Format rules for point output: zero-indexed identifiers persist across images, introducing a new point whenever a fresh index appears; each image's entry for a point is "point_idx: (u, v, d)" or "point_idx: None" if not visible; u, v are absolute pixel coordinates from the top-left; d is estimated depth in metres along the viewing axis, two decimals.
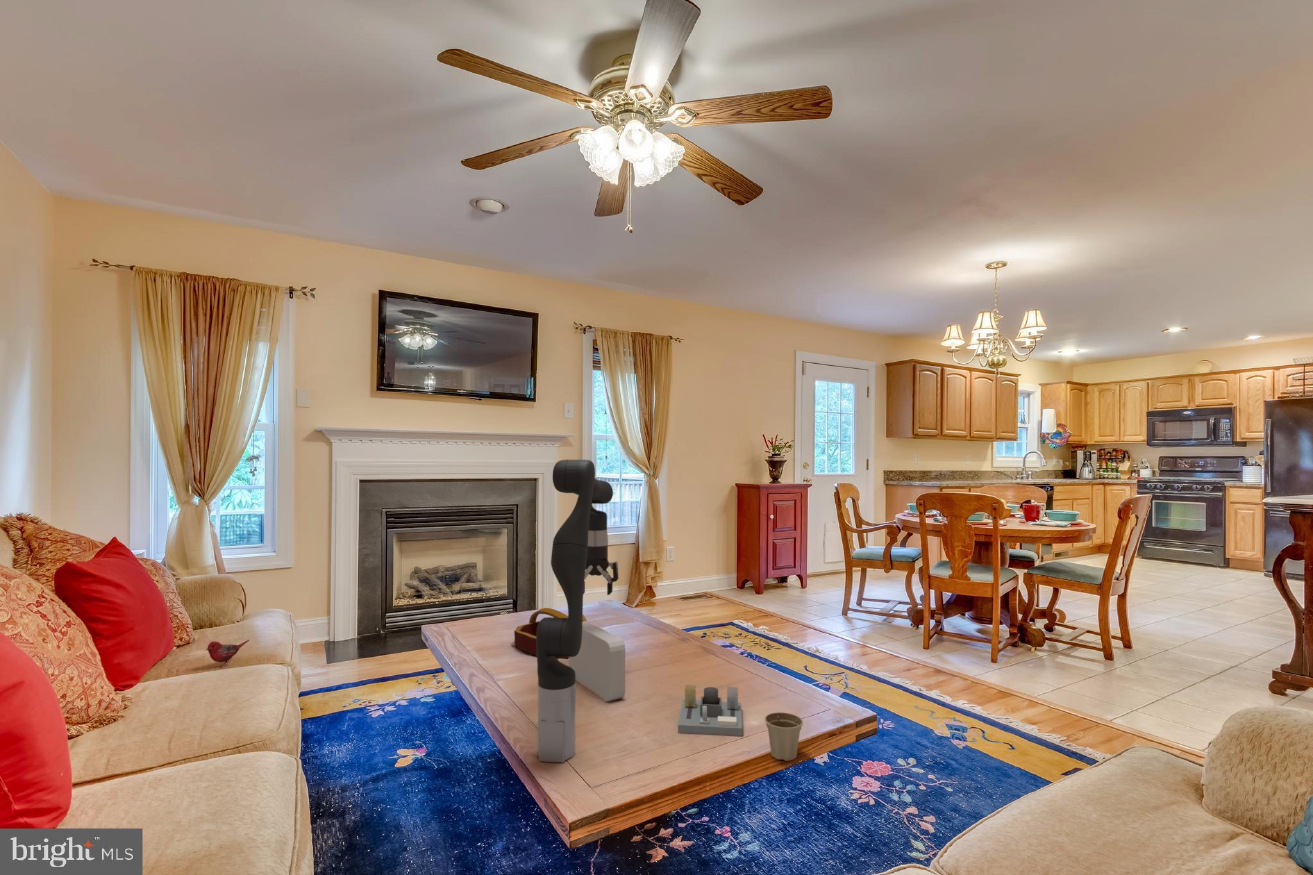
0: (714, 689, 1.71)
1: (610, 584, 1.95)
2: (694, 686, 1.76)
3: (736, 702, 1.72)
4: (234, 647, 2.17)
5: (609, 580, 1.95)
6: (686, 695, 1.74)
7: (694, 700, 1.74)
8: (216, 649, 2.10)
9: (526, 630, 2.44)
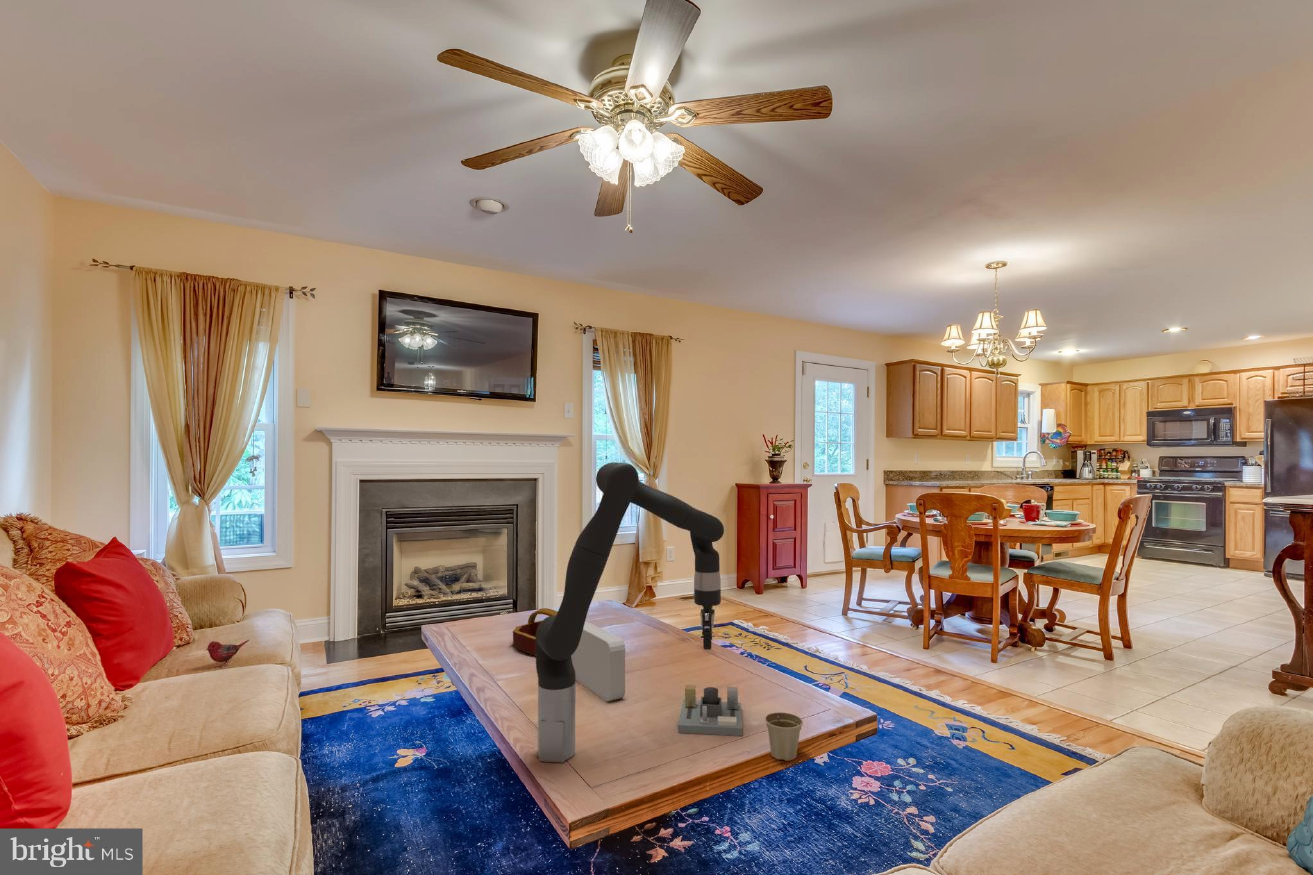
0: (714, 689, 1.71)
1: None
2: (694, 686, 1.76)
3: (736, 702, 1.72)
4: (234, 647, 2.17)
5: None
6: (686, 695, 1.74)
7: (694, 700, 1.74)
8: (216, 649, 2.10)
9: (525, 630, 2.44)
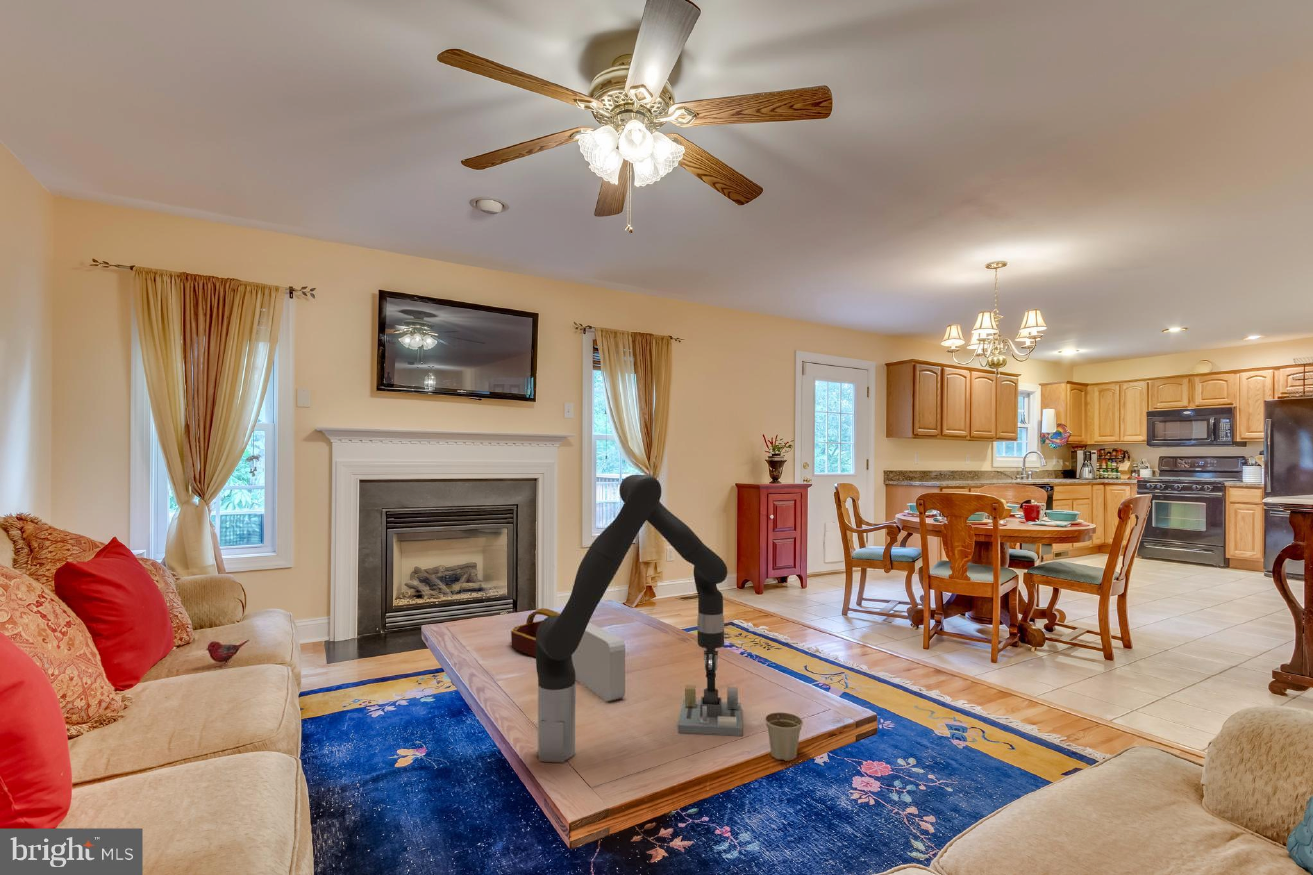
0: None
1: None
2: (694, 686, 1.76)
3: (736, 702, 1.72)
4: (234, 647, 2.17)
5: (715, 672, 1.72)
6: (686, 695, 1.74)
7: (694, 700, 1.74)
8: (216, 649, 2.10)
9: (523, 631, 2.43)
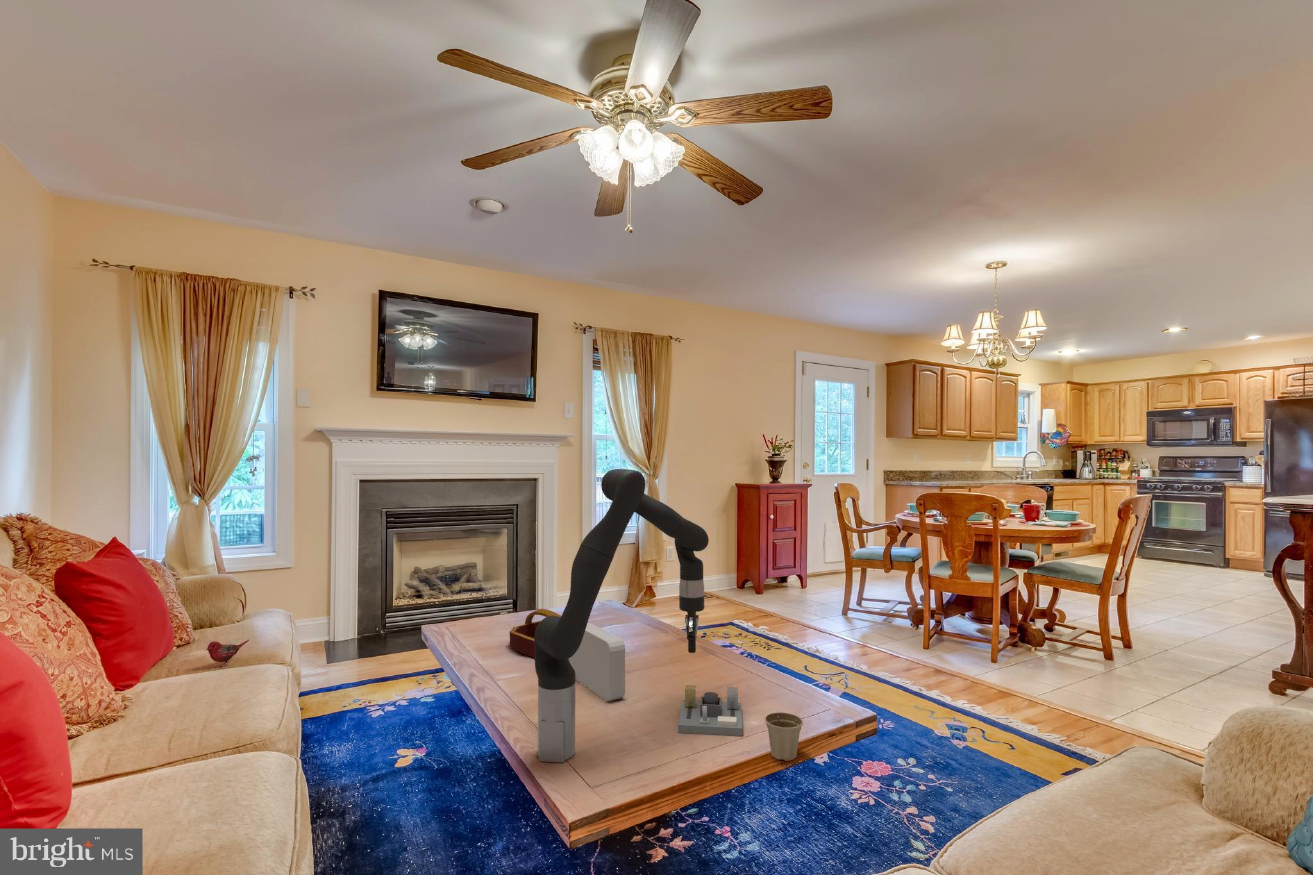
0: (714, 695, 1.70)
1: None
2: (694, 686, 1.76)
3: (736, 702, 1.72)
4: (234, 647, 2.17)
5: None
6: (686, 695, 1.74)
7: (694, 700, 1.74)
8: (216, 649, 2.10)
9: (522, 631, 2.43)
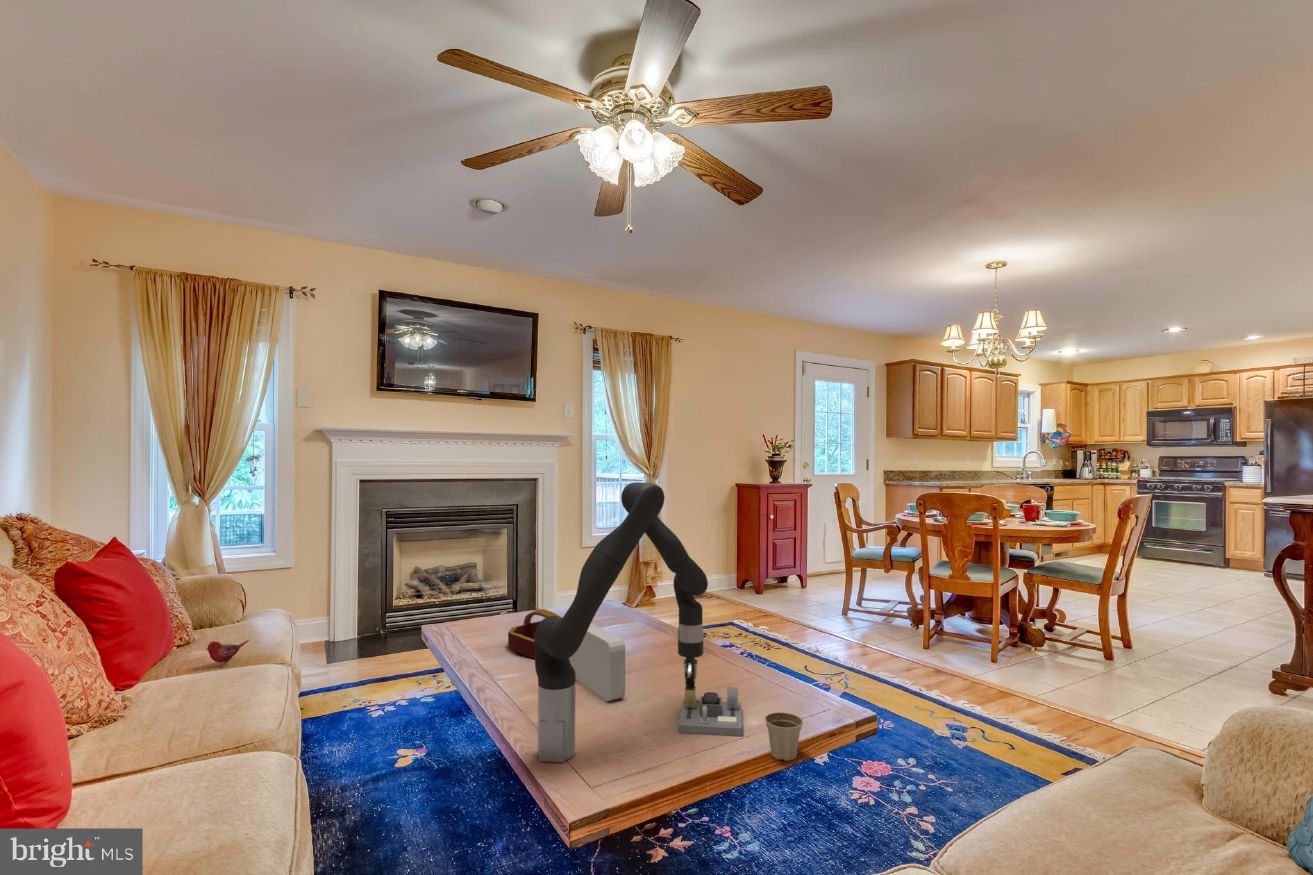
0: (714, 695, 1.70)
1: None
2: (694, 687, 1.75)
3: (736, 702, 1.72)
4: (234, 647, 2.17)
5: None
6: (686, 696, 1.73)
7: (694, 701, 1.73)
8: (216, 650, 2.10)
9: (520, 631, 2.42)
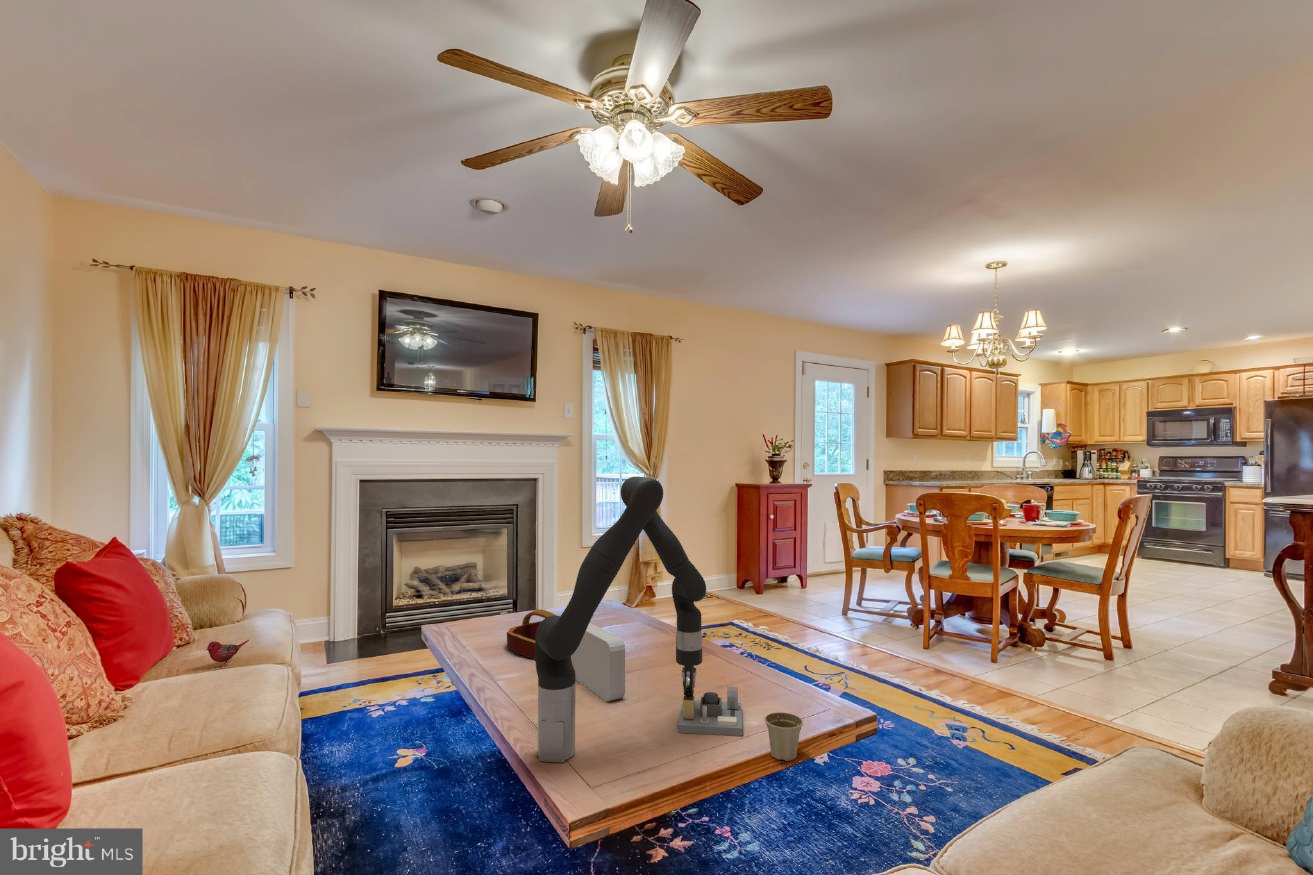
0: (714, 695, 1.70)
1: None
2: (692, 697, 1.68)
3: (736, 702, 1.72)
4: (234, 647, 2.17)
5: (693, 689, 1.73)
6: (684, 706, 1.66)
7: (692, 712, 1.66)
8: (216, 649, 2.10)
9: (519, 632, 2.42)
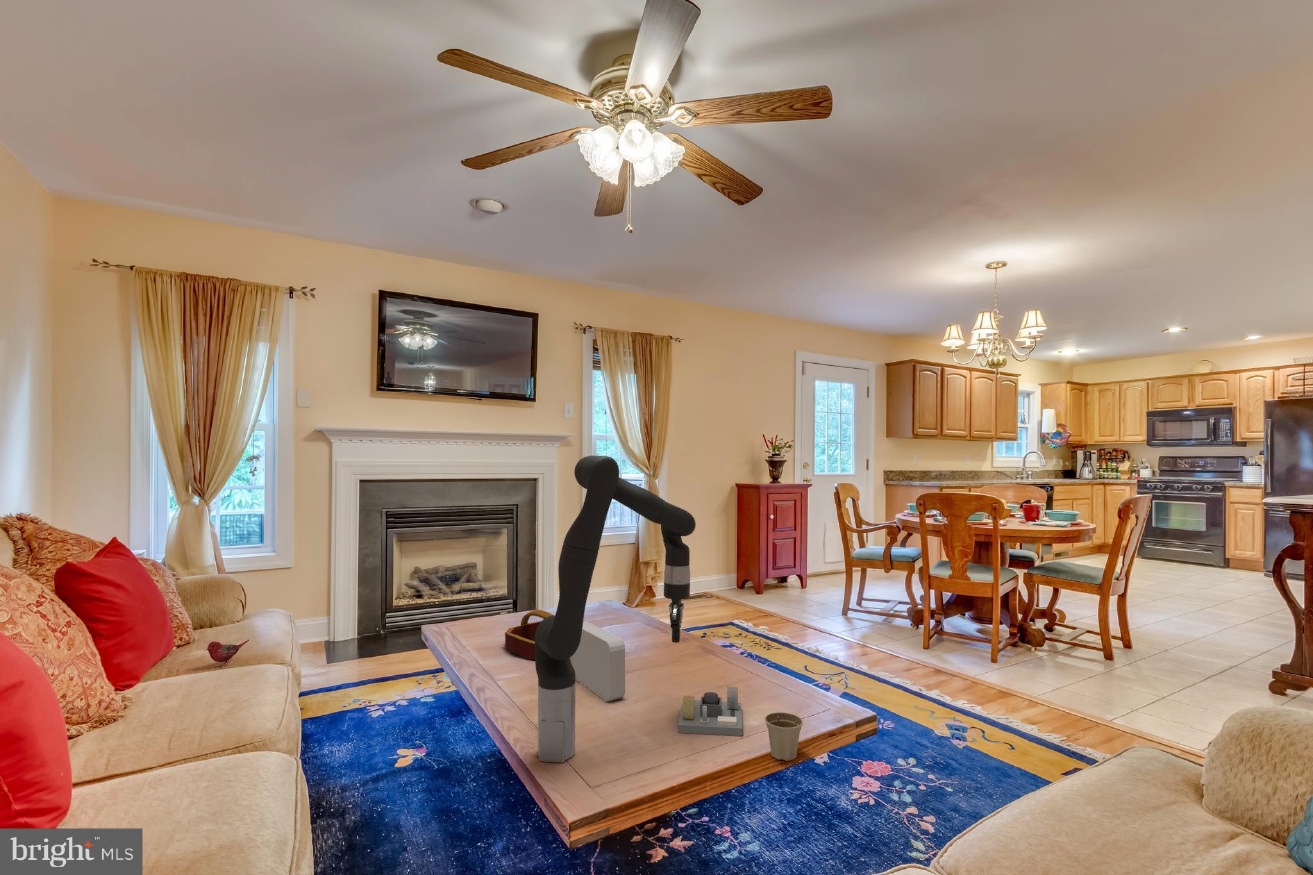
0: (714, 695, 1.70)
1: None
2: (692, 697, 1.68)
3: (736, 702, 1.72)
4: (234, 647, 2.17)
5: (680, 624, 1.75)
6: (684, 706, 1.66)
7: (692, 712, 1.66)
8: (216, 649, 2.10)
9: (517, 632, 2.41)
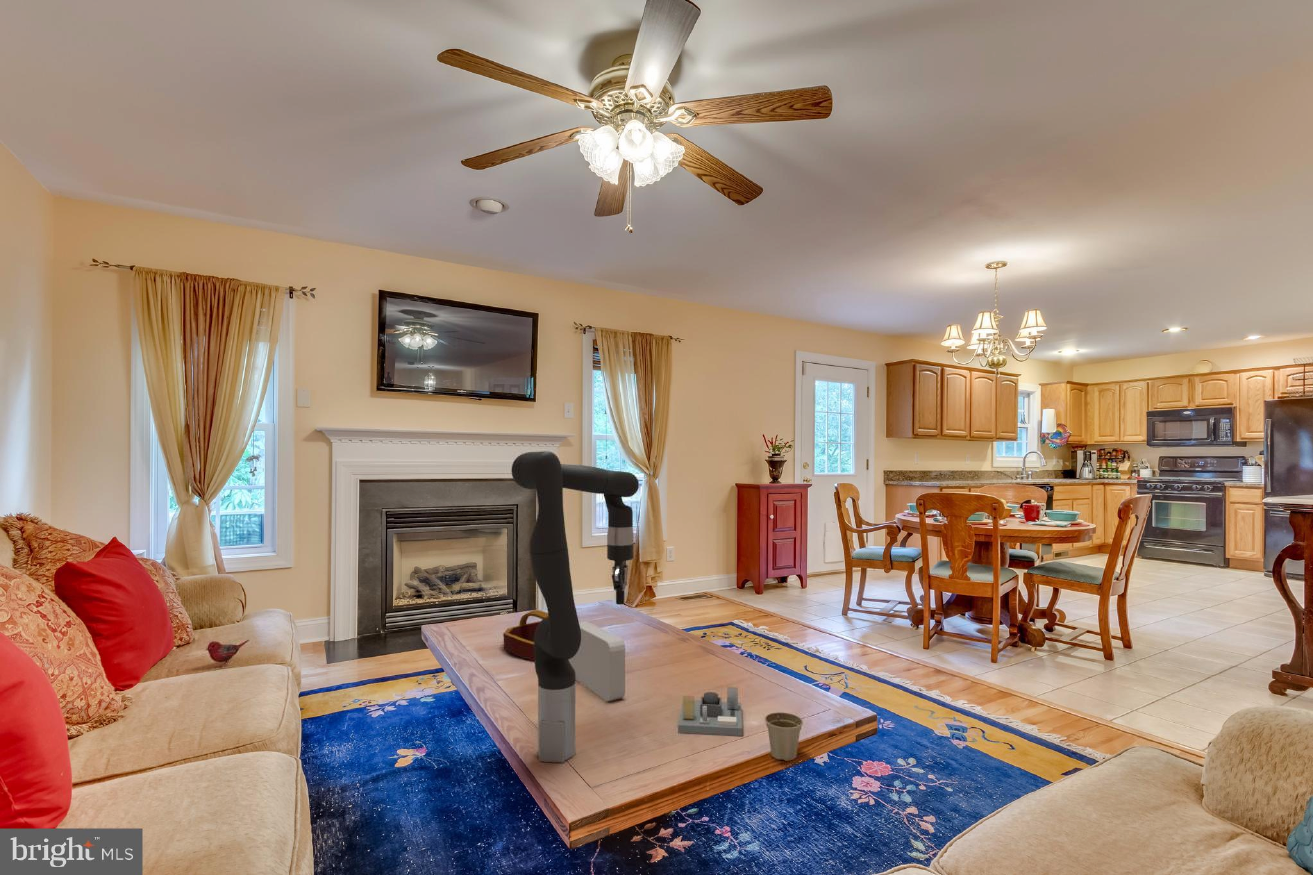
0: (714, 695, 1.70)
1: (623, 591, 1.74)
2: (692, 697, 1.68)
3: (736, 702, 1.72)
4: (234, 647, 2.17)
5: None
6: (684, 706, 1.66)
7: (692, 712, 1.66)
8: (216, 649, 2.10)
9: (516, 632, 2.41)
